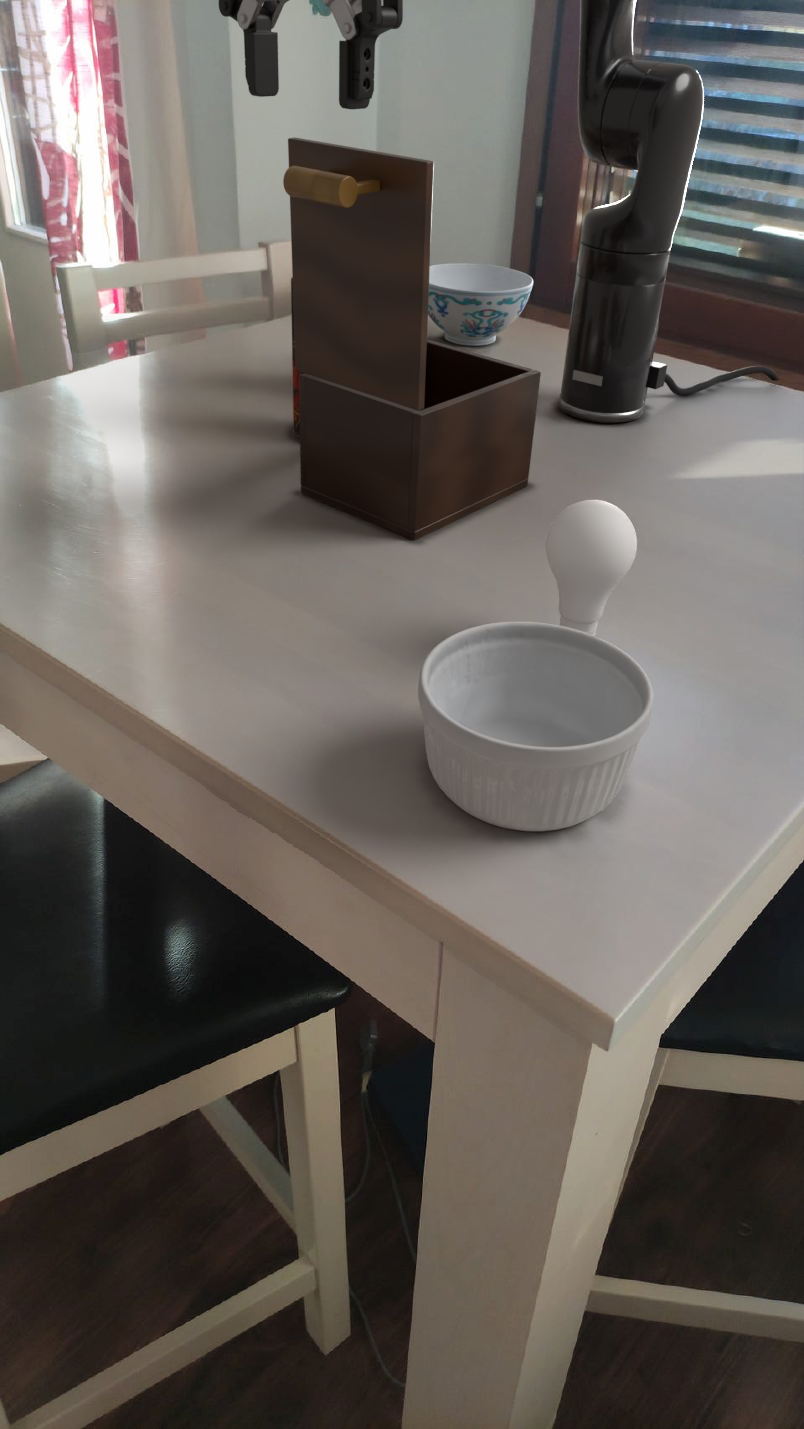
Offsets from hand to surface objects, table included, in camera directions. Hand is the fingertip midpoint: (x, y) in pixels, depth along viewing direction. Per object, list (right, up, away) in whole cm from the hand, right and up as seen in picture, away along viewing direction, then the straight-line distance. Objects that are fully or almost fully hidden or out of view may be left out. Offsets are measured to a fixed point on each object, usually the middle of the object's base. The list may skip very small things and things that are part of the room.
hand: (307, 102), depth 71 cm
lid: (+3, -7, +10) cm, 13 cm away
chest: (+8, -20, +27) cm, 35 cm away
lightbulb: (+19, -36, +6) cm, 41 cm away
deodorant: (-2, -12, +38) cm, 40 cm away
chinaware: (+15, +8, +68) cm, 70 cm away
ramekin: (+14, -45, -7) cm, 47 cm away
